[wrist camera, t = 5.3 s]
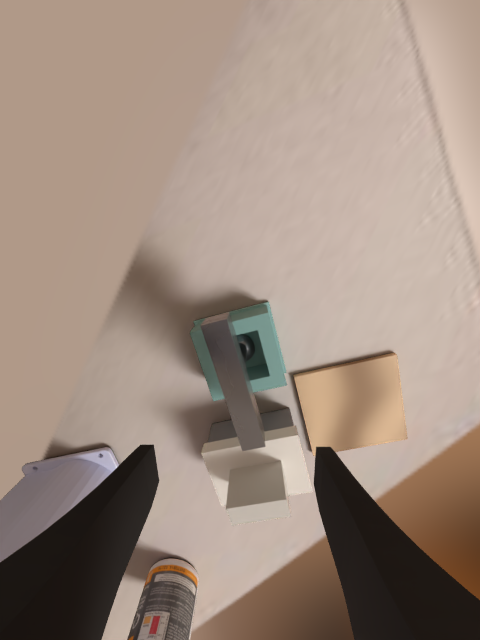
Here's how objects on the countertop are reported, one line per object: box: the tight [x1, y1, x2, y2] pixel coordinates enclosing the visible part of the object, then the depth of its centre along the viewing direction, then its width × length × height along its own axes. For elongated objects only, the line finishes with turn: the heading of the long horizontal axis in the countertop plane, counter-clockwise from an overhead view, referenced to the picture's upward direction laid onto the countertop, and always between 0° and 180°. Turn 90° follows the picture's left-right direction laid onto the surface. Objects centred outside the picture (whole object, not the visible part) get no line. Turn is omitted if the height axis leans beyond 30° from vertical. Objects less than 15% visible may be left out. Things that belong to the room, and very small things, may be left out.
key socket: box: [190, 302, 287, 401], centre depth 19 cm, size 6×6×2 cm
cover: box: [201, 426, 313, 526], centre depth 18 cm, size 7×5×4 cm
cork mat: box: [293, 353, 407, 456], centre depth 21 cm, size 8×8×1 cm
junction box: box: [208, 408, 294, 443], centre depth 21 cm, size 7×5×2 cm
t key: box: [200, 312, 265, 451], centre depth 17 cm, size 8×2×6 cm, turn 16°
